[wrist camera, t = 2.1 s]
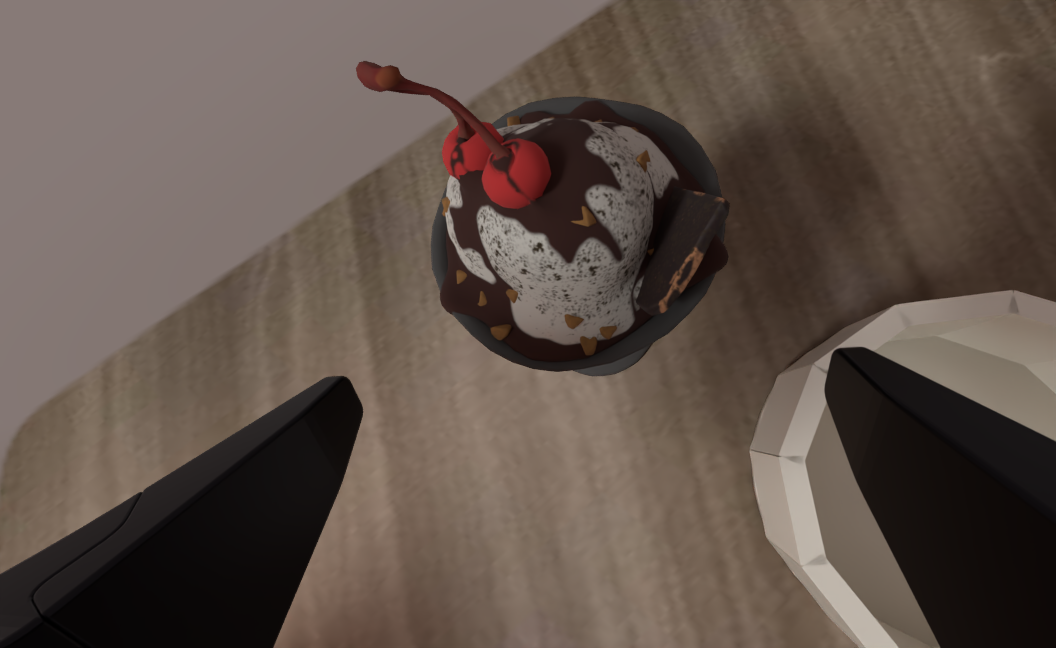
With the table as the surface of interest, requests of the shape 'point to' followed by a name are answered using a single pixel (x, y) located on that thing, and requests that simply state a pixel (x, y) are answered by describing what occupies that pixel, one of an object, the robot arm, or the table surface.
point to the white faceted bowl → (824, 471)
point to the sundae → (571, 228)
